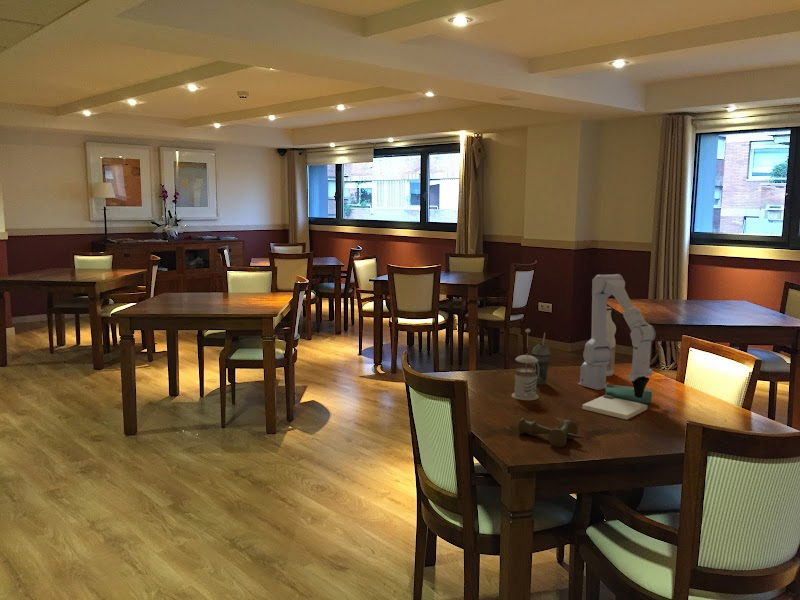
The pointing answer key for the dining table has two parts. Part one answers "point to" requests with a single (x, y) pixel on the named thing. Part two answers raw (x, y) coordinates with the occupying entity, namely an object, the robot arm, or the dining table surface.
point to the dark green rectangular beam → (628, 393)
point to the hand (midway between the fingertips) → (638, 397)
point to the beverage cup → (541, 361)
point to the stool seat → (614, 407)
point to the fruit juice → (610, 340)
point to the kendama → (551, 431)
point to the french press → (525, 378)
